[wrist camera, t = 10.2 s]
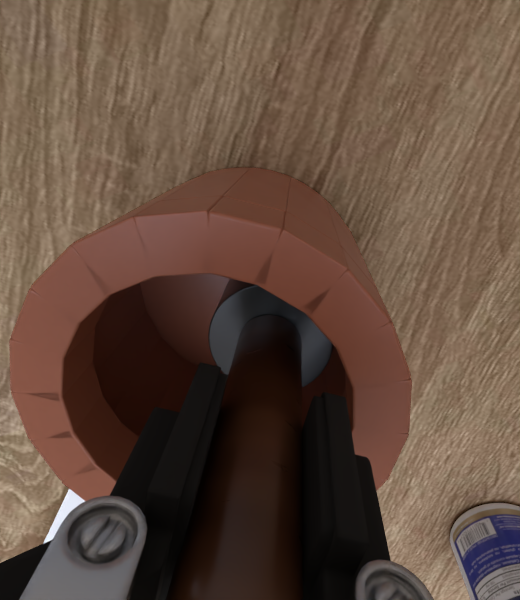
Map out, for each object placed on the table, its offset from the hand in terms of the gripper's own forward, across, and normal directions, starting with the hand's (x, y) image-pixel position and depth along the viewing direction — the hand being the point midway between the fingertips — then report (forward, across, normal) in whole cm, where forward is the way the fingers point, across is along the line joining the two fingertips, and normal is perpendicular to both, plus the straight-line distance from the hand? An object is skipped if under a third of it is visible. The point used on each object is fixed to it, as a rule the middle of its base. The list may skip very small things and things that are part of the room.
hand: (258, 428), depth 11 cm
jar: (+11, +2, +1) cm, 11 cm away
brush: (+8, 0, 0) cm, 8 cm away
